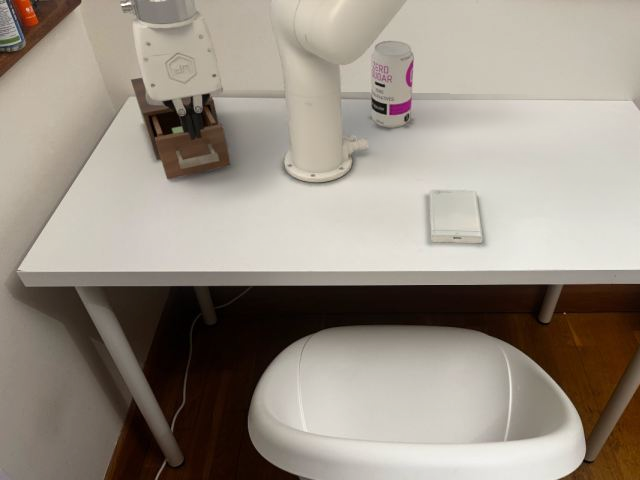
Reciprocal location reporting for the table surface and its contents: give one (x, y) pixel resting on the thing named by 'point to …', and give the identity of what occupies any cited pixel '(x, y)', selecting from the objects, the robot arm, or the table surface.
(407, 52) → the white soda can
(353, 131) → the table surface
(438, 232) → the hard drive
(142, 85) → the cabinet
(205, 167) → the drawer
